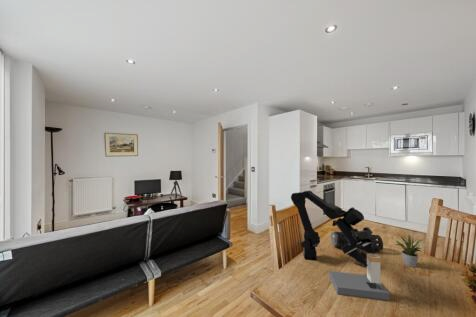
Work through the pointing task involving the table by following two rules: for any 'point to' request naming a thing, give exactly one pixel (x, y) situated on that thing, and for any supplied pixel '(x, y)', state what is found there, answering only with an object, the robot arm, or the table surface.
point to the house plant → (409, 251)
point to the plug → (373, 268)
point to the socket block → (357, 286)
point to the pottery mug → (362, 256)
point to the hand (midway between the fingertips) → (372, 263)
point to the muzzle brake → (340, 242)
